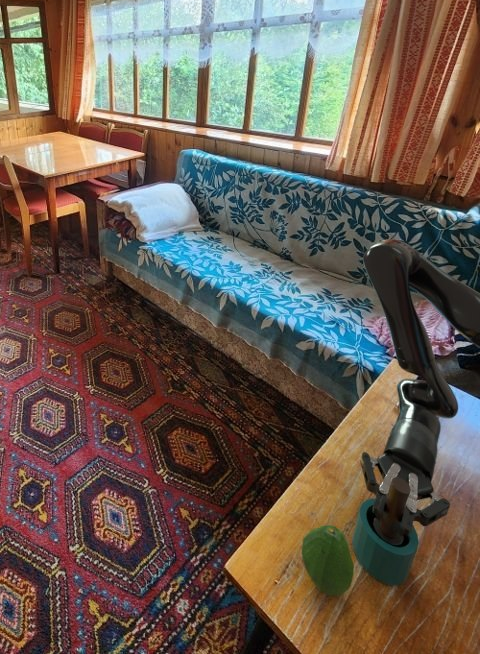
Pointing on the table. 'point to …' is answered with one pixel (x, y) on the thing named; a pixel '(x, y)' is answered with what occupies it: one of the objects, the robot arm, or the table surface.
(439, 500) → the robot arm
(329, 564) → the avocado
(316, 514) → the table surface
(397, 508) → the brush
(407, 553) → the jar
